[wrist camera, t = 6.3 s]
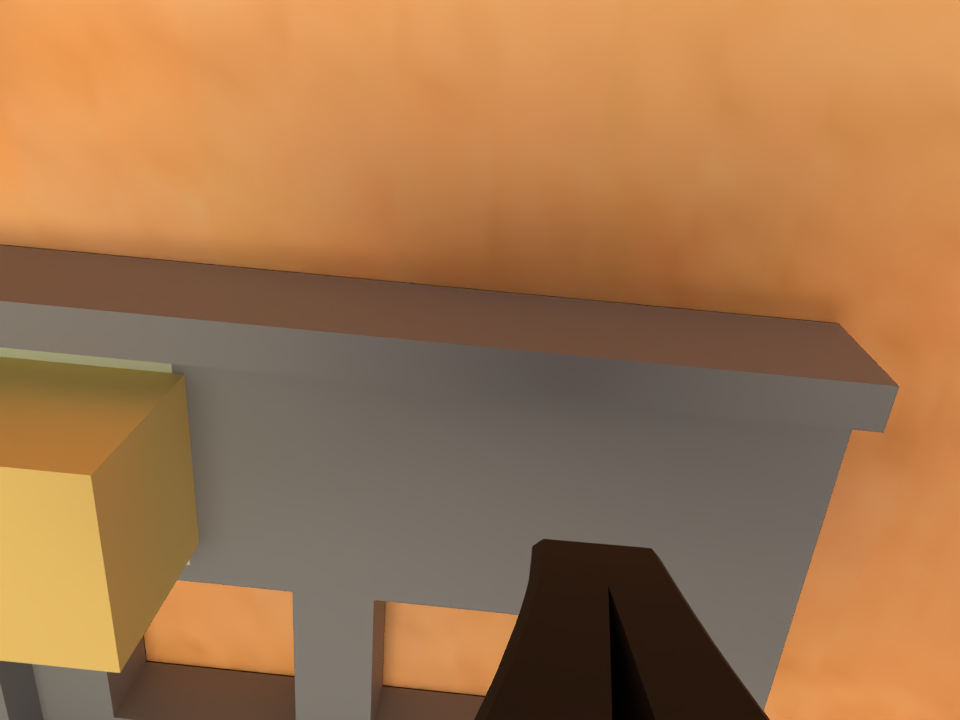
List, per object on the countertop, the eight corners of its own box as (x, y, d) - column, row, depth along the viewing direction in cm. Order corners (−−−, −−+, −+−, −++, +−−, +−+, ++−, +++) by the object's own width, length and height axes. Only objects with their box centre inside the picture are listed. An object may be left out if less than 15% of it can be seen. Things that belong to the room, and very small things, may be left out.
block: (184, 374, 17) (90, 475, 13) (199, 543, 19) (120, 672, 15) (-21, 354, 17) (-171, 449, 13) (13, 525, 19) (-109, 648, 15)
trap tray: (838, 323, 18) (898, 386, 15) (713, 757, 24) (739, 864, 21) (-36, 241, 18) (-143, 287, 15) (53, 688, 24) (-13, 783, 21)
